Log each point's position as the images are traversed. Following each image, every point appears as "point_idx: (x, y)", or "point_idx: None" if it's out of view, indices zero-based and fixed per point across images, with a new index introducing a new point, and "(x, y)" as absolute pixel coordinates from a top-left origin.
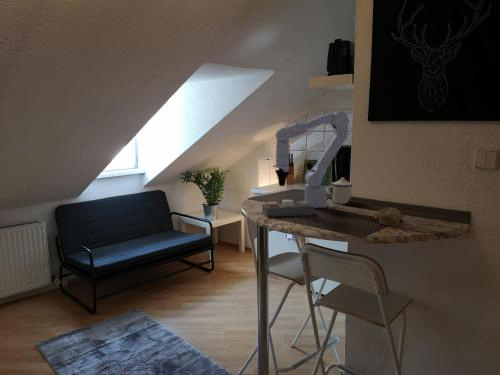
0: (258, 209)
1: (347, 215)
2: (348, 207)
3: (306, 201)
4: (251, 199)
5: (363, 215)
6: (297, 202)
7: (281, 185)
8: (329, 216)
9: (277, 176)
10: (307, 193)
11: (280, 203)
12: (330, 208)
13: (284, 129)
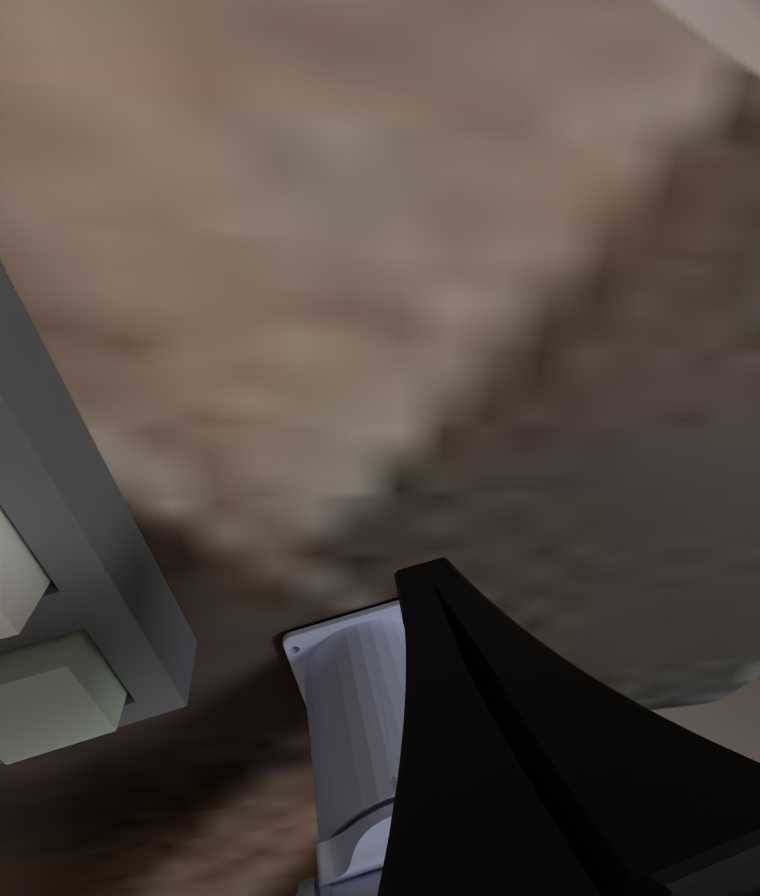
0: (142, 144)
1: (93, 838)
2: None
3: (70, 740)
4: (745, 91)
5: (121, 886)
6: (42, 663)
7: (398, 597)
8: (14, 774)
9: (570, 669)
10: (342, 747)
11: (45, 475)
12: (300, 747)
13: None
